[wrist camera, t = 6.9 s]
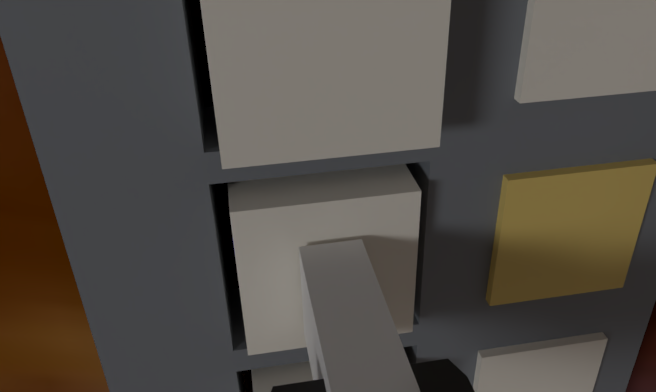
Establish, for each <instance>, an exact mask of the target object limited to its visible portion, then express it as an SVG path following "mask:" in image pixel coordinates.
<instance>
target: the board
mask: <svg viewBox="0 0 656 392" xmlns="http://www.w3.org/2000/svg"><path fill="white" fill-rule="evenodd" d="M0 36H1V39H2V42H3V46H4V49H5V52H6V55H7V59H8V62H9V65H10V68H11V72H12V75H13V78H14V81H15V85H16V88H17V91H18V94H19V98H20V101H21V104H22V107H23V111H24V114H25V117H26V120H27V124H28V127H29V130H30V133H31V137H32V140H33V143H34V146H35V150H36V153H37V156H38V159H39V163H40V166H41V169H42V172H43V176H44V179H45V182H46V185H47V189H48V192H49V195H50V198H51V202H52V205H53V208H54V212H55V215H56V218H57V221H58V225H59V228H60V231H61V234H62V238H63V241H64V244H65V247H66V251H67V254H68V257H69V260H70V264H71V267H72V270H73V273H74V277H75V280H76V283H77V286H78V290H79V293H80V296H81V299H82V303H83V306H84V309H85V312H86V316H87V319H88V322H89V325H90V329H91V332H92V335H93V338H94V342H95V345H96V348H97V351H98V355H99V358H100V361H101V364H102V368H103V371H104V374H105V378H106V381H107V384H108V387H109V391H110V392H244V386H243V379H242V372H241V371H244V370H251V369H258V368H265V367H272V366H278V365H285V364H292V363H299V362H306V361H309V356H308V351H307V347H304V348H297V349H290V350H283V351H276V352H270V353H263V354H256V355H249V356H248V351H247V344H246V336H245V328H244V321H243V313H242V305H241V297H240V290H239V288H238V289H230V287H229V280H228V272H227V265H226V258H225V251H224V244H223V237H222V230H221V223H220V216H219V208H218V201H217V194H216V187H215V184H218V183H228V182H237V181H246V180H256V179H265V178H275V177H284V176H294V175H303V174H313V173H322V172H331V171H341V170H350V169H360V168H369V167H379V166H388V165H398V164H406V166H407V168H408V169H409V171H410V173H411V174H412V176H413V178H414V179H415V181H416V183H417V184H418V186H419V188H420V189H421V206H420V222H419V238H418V254H417V269H416V285H415V301H414V317H413V332H408V333H401V334H398V335H399V337H400V340H401V342H402V345H403V348H404V350H405V353H406V355H407V358H408V361H409V363H410V364H415V363H421V362H428V361H435V360H441V359H449V360H450V361H451V362H452V363H453V364H454V365H456V366H457V367H458V368H459V369H460V370H461V371H462V372H463V373H464V374H465V375H466V376H467V377H468V379H469V381H470V383H471V385H472V387H473V389H474V391H475V392H625V391H626V388H627V385H628V382H629V379H630V376H631V373H632V370H633V367H634V364H635V361H636V358H637V355H638V352H639V349H640V346H641V343H642V340H643V337H644V334H645V331H646V328H647V325H648V322H649V319H650V316H651V313H652V310H653V307H654V304H655V301H656V0H451V10H450V23H449V36H448V48H447V61H446V74H445V87H444V99H443V112H442V125H441V138H440V147H435V148H425V149H415V150H406V151H396V152H386V153H377V154H367V155H357V156H347V157H338V158H328V159H318V160H309V161H299V162H289V163H279V164H270V165H260V166H250V167H241V168H231V169H222V165H221V157H220V150H219V142H218V134H217V127H216V119H215V112H214V106H213V107H204V102H203V94H202V87H201V80H200V73H199V66H198V59H197V52H196V45H195V38H194V30H193V23H192V16H191V9H190V2H189V0H0Z"/></svg>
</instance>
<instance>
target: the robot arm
mask: <svg viewBox="0 0 656 392" xmlns="http://www.w3.org/2000/svg"><path fill="white" fill-rule="evenodd" d="M299 260H300V276H301V292H302V308H303V324H304V336H305V341H306V346H307V351H308V356H309V361H310V367H311V372H312V377H313V380H312V381H306V382H299V383H292V384H286V385H279V386H273V388H272V390H271V392H475V391H474V389H473V387H472V385H471V383H470V381H469V379H468V377H467V376H466V375H465V374H464V373H463V372H462V371H461V370H460V369H459V368H458V367H457V366H456V365H454V364H453V363H452V362H451V361H450V360H449V359H441V360H435V361H428V362H421V363H415V364H410V363H409V361H408V358H407V355H406V353H405V350H404V348H403V345H402V342H401V340H400V337H399V335H398V332H397V329H396V327H395V324H394V322H393V319H392V316H391V314H390V311H389V309H388V306H387V303H386V301H385V298H384V296H383V293H382V290H381V288H380V285H379V283H378V280H377V277H376V275H375V272H374V270H373V267H372V264H371V262H370V259H369V257H368V254H367V251H366V249H365V246H364V244H363V241H362V239H359V240H351V241H343V242H335V243H326V244H318V245H310V246H302V247H299Z"/></svg>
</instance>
